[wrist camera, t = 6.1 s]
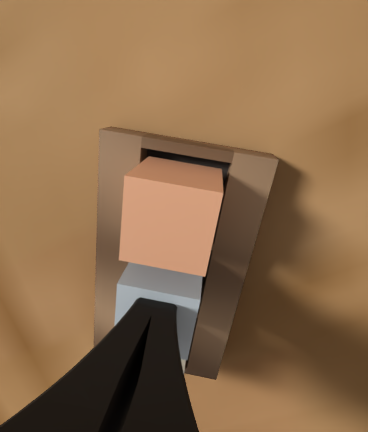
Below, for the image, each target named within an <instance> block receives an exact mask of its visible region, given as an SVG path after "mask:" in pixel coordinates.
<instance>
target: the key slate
mask: <svg viewBox="0 0 368 432" xmlns="http://www.w3.org/2000/svg"><path fill="white" fill-rule="evenodd" d="M202 277H203V276H198V275H193V274H188V273H183V272H177V271H172V270H167V269H162V268H157V267H152V266H146V265H141V264H136V263H131V262H129V263H128V265H127V267H126V269H125V270H124V272H123V274H122V276H121V277H120V279H119V281H118V283H117V292H116V308H115V323H114V326H115V325H116V324H117V323H118V322H119V321H120V319H121V318H122V317H123V316H124V315H125V313H126V312H127V311H128V310H129V309H130V307H131V306H132V305H133V303H134V302H135V301H136V299H138V298H139V297H142V298H147V299H152V300H157V301H162V302H167V303H172V304H175V305H176V306H177V336H178V344H179V350H180V357H181V359H183V360H188V355H189V351H190V346H191V341H192V337H193V332H194V327H195V323H196V318H197V314H198V309H199V304H200V299H201V288H202Z"/></svg>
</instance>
